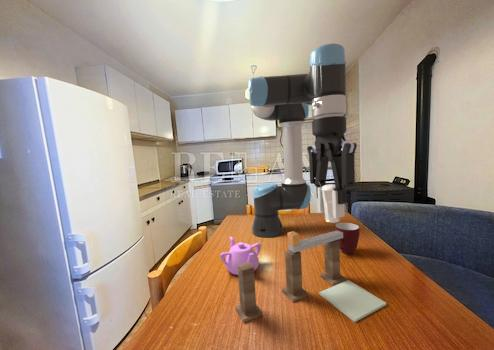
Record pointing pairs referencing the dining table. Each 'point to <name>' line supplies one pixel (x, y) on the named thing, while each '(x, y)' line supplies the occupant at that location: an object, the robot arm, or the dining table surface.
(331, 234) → the bar
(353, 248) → the mug
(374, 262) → the dining table surface
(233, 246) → the teapot
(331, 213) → the milkshake
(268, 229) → the robot arm
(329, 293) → the mat
